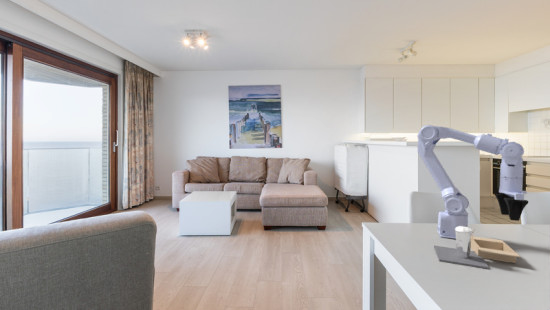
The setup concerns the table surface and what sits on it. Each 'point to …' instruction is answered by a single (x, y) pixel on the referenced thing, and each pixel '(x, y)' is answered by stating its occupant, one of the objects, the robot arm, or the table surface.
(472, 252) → the mat
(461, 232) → the milkshake
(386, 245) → the table surface
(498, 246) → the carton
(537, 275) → the table surface
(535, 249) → the table surface
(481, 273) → the table surface
